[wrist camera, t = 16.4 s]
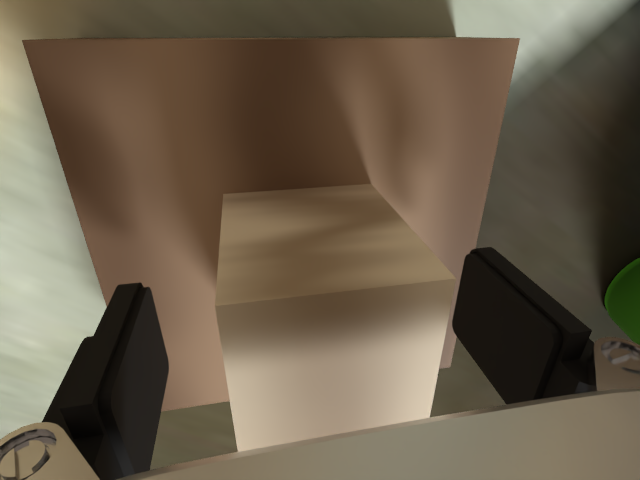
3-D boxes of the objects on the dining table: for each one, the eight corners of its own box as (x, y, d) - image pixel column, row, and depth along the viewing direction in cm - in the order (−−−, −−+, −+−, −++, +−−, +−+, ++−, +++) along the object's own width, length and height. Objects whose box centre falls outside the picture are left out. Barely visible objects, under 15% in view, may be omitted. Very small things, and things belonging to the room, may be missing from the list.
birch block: (371, 183, 14) (456, 278, 8) (363, 300, 16) (426, 431, 11) (223, 194, 13) (215, 306, 7) (238, 315, 15) (240, 465, 10)
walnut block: (456, 37, 16) (519, 38, 12) (416, 314, 22) (450, 366, 19) (77, 38, 13) (22, 39, 10) (157, 347, 20) (141, 414, 16)
